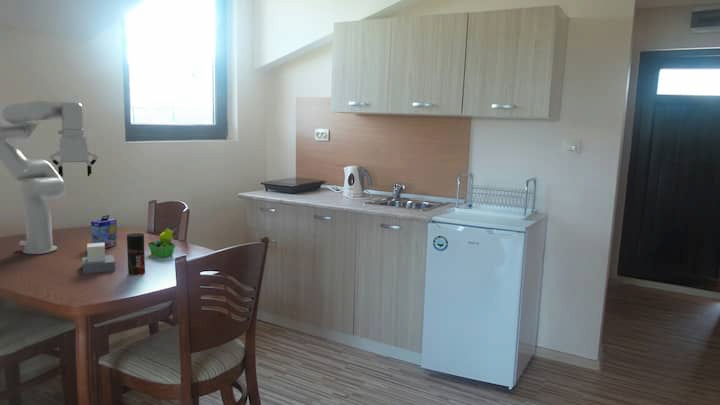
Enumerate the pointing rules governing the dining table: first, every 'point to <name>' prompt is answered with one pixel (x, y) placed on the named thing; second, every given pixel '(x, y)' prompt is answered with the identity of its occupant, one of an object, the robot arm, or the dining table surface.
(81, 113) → the robot arm
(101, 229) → the ink cartridge box
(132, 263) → the deodorant
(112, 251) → the dining table surface
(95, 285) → the dining table surface
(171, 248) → the green potted plant
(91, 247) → the cream cube
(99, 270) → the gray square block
